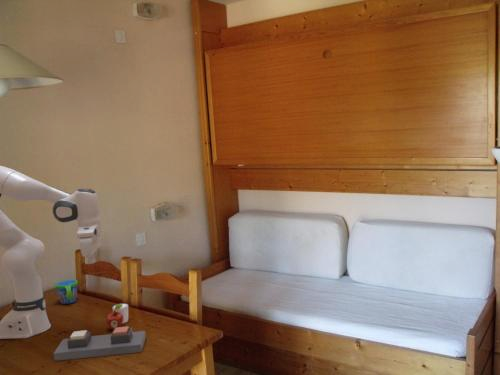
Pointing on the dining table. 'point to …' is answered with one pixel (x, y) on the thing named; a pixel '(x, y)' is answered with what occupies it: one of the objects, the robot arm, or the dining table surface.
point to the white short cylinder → (122, 311)
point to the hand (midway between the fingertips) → (93, 262)
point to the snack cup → (67, 291)
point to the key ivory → (79, 335)
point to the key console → (100, 345)
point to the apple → (115, 318)
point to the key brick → (121, 331)
